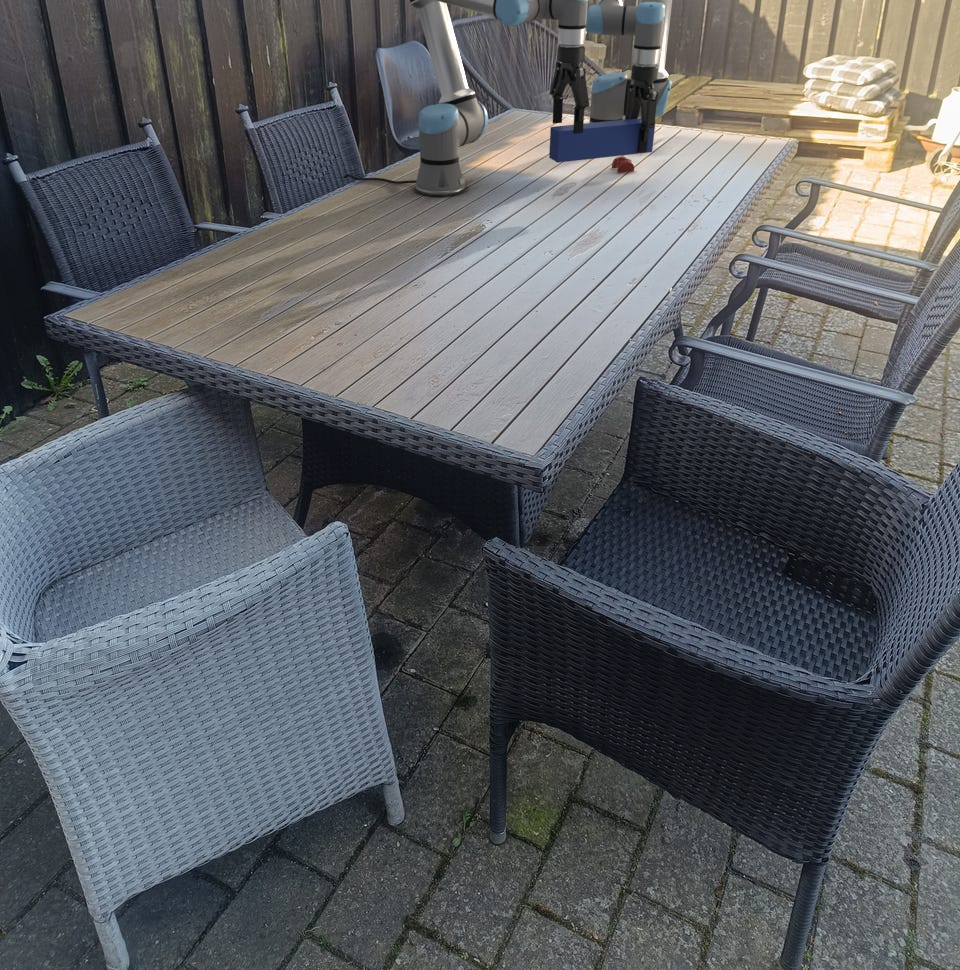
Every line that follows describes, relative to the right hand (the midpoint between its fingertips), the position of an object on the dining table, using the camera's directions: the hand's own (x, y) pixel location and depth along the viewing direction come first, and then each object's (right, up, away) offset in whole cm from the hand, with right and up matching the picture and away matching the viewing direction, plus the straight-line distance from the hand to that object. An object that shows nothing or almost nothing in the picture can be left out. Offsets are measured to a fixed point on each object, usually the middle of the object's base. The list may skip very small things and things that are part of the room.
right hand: (636, 149), depth 254 cm
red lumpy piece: (-1, +2, +22) cm, 22 cm away
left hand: (-22, +1, -12) cm, 25 cm away
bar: (-11, -3, -3) cm, 12 cm away
